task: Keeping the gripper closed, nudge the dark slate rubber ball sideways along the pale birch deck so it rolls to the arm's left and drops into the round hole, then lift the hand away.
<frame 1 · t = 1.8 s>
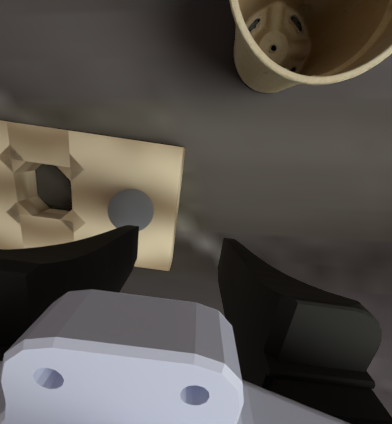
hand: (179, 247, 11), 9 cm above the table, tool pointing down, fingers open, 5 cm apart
ball: (131, 210, 16), point 4 cm above the table, touching deck
deck: (96, 196, 20), on the table
flower pot: (269, 52, 17), on the table
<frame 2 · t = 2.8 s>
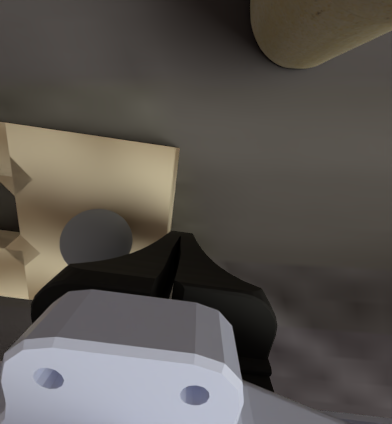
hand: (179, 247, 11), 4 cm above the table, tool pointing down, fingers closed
ball: (98, 241, 11), point 4 cm above the table, touching deck
deck: (59, 214, 15), on the table
flower pot: (301, 9, 11), on the table
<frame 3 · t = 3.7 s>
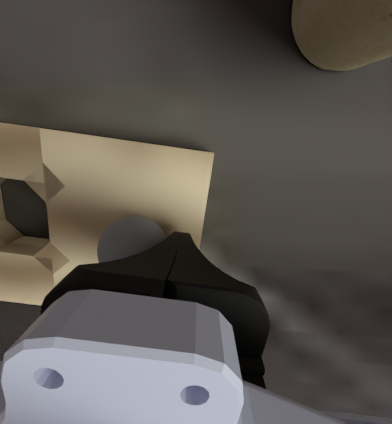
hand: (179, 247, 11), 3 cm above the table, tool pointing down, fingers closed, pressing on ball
ball: (134, 248, 11), point 4 cm above the table, touching deck, gripper
deck: (85, 219, 15), on the table
flower pot: (342, 9, 11), on the table
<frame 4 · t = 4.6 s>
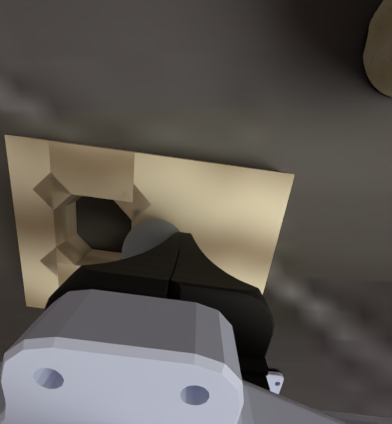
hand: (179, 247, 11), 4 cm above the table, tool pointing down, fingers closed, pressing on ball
ball: (155, 250, 11), point 4 cm above the table, tilted 131°, touching deck, gripper
deck: (153, 233, 16), on the table
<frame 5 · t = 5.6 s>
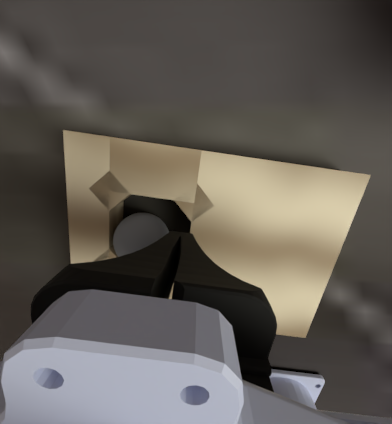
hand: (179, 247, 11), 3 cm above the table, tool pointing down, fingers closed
ball: (142, 239, 13), point 2 cm above the table, tilted 20°
deck: (202, 234, 15), on the table
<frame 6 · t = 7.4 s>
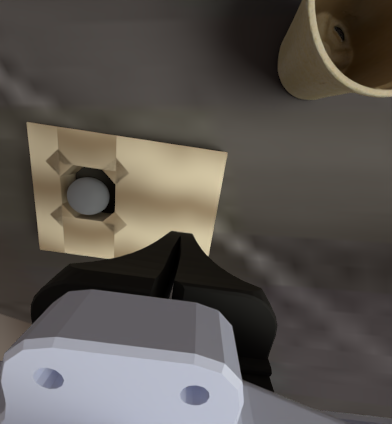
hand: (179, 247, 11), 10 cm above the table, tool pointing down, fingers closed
ball: (89, 196, 19), point 2 cm above the table, tilted 21°
deck: (133, 199, 21), on the table
flower pot: (310, 60, 17), on the table
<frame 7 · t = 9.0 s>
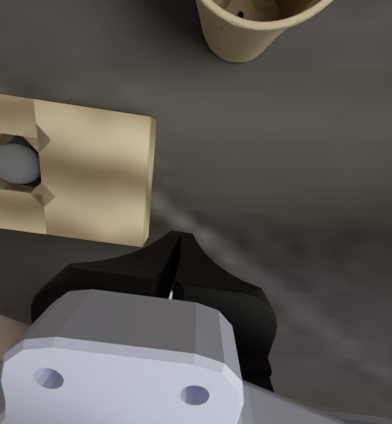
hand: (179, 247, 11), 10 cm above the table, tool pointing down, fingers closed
ball: (18, 164, 18), point 2 cm above the table, tilted 27°
deck: (68, 172, 20), on the table
flower pot: (237, 20, 16), on the table
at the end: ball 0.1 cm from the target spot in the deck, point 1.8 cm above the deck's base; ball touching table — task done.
